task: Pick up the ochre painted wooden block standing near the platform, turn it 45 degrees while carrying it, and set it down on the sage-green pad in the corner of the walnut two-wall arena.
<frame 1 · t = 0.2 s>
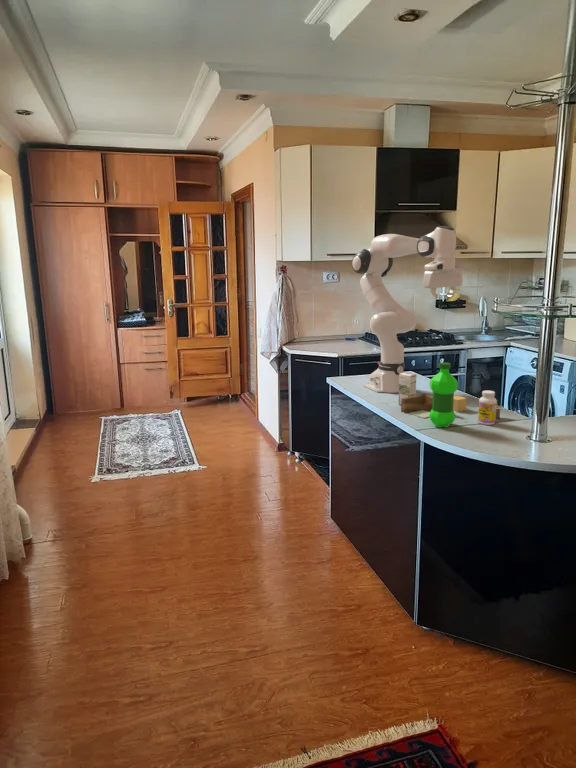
hand: (442, 297, 242), 47 cm above the worktop, tool pointing down, fingers open, 8 cm apart
supplement bottle: (486, 423, 224), on the worktop, touching platform
platform: (489, 419, 230), on the worktop, touching supplement bottle
syrup box: (406, 405, 251), on the worktop
block: (456, 409, 243), on the worktop
plastic bottle: (441, 425, 221), on the worktop
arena: (423, 414, 236), on the worktop
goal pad: (423, 414, 236), on the worktop
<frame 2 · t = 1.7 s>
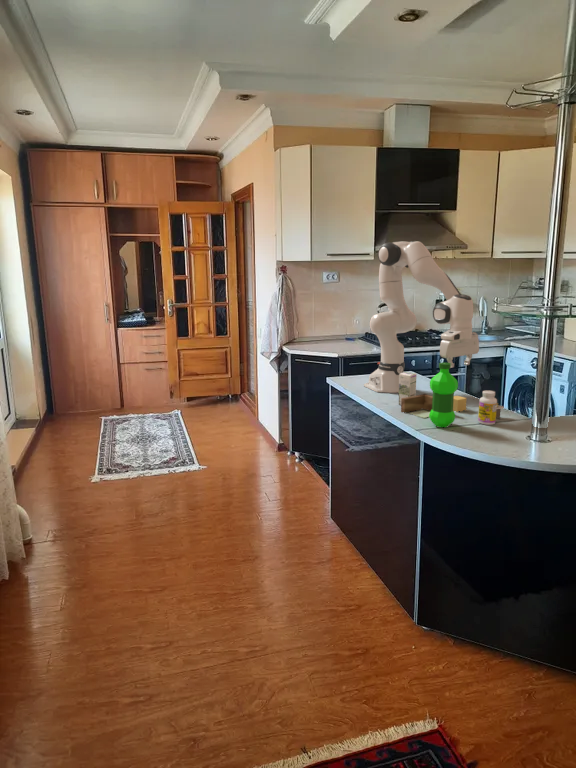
hand: (459, 366, 238), 19 cm above the worktop, tool pointing down, fingers open, 8 cm apart
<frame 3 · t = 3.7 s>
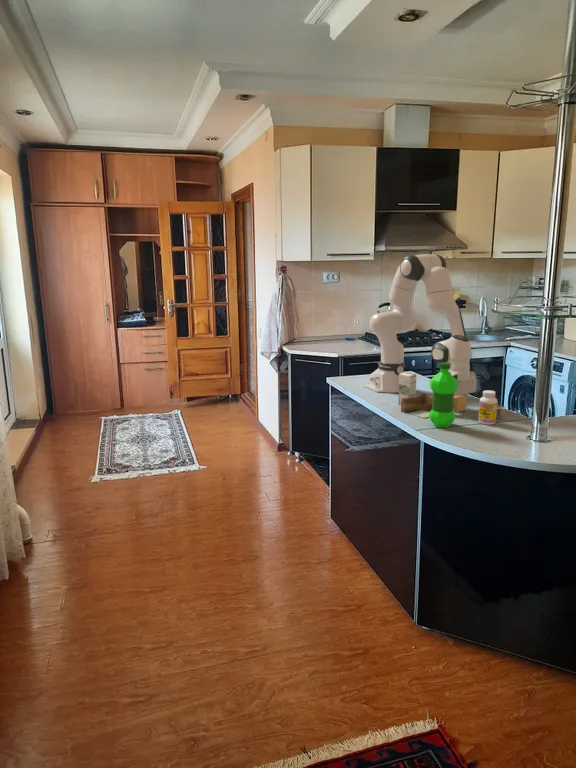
hand: (456, 404, 242), 2 cm above the worktop, tool pointing down, fingers closed on block, 5 cm apart
block: (456, 409, 242), on the worktop, touching gripper
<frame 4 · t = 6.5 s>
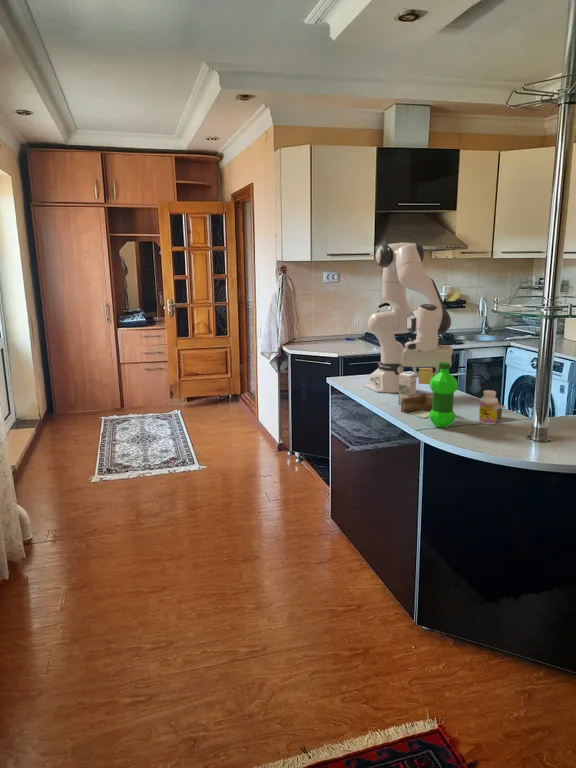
hand: (425, 377, 232), 16 cm above the worktop, tool pointing down, fingers closed on block, 5 cm apart
block: (425, 382, 233), point 14 cm above the worktop, touching gripper
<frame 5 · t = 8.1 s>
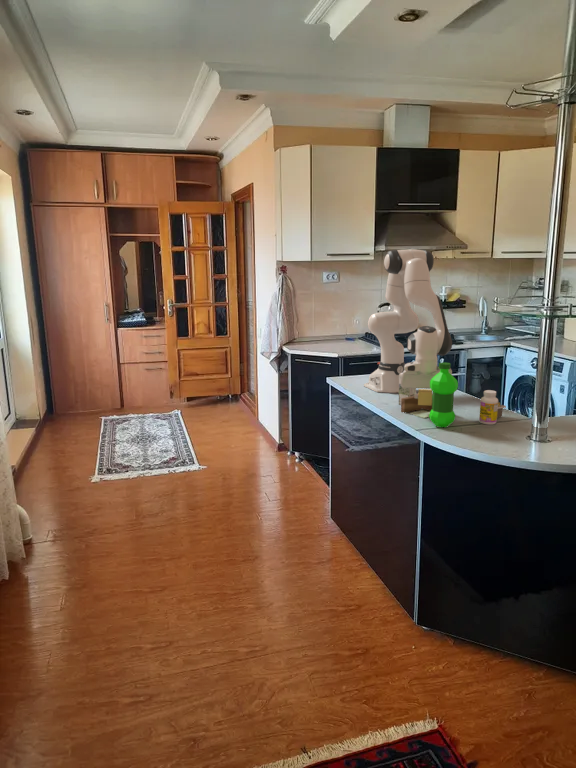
hand: (424, 398, 234), 7 cm above the worktop, tool pointing down, fingers closed on block, 5 cm apart
supplement bottle: (487, 423, 224), on the worktop
platform: (492, 418, 231), on the worktop
block: (424, 403, 235), point 5 cm above the worktop, touching gripper
everything else where it was.
when the fingers open (4 cm above the worktop, at t = 9.2 s): block drops 1 cm, resting on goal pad.
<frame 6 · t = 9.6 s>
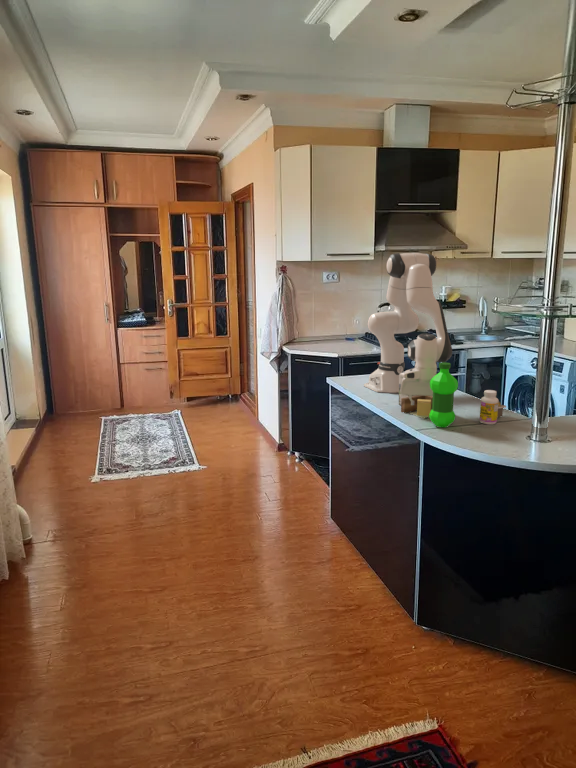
hand: (424, 405, 235), 4 cm above the worktop, tool pointing down, fingers open, 8 cm apart
supplement bottle: (488, 422, 224), on the worktop, touching platform
platform: (493, 418, 232), on the worktop, touching supplement bottle
block: (423, 413, 236), resting on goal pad
everything else where it was.
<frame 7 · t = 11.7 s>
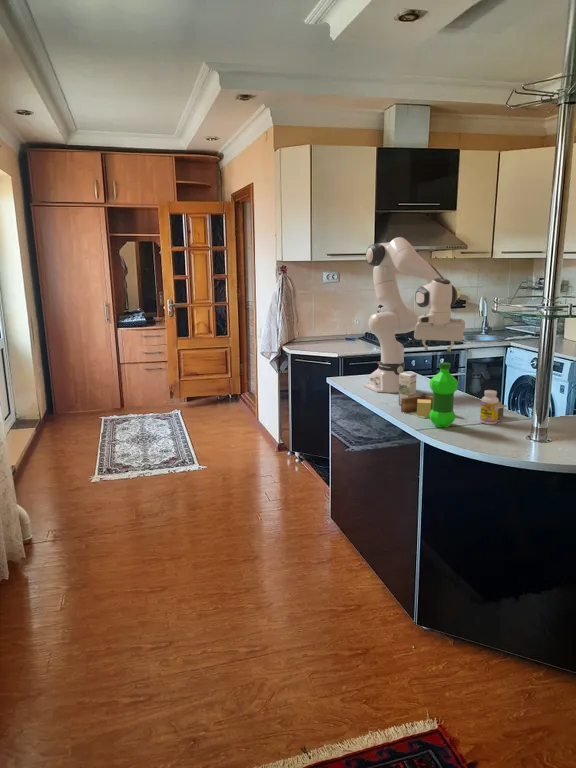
hand: (437, 350, 238), 26 cm above the worktop, tool pointing down, fingers open, 8 cm apart
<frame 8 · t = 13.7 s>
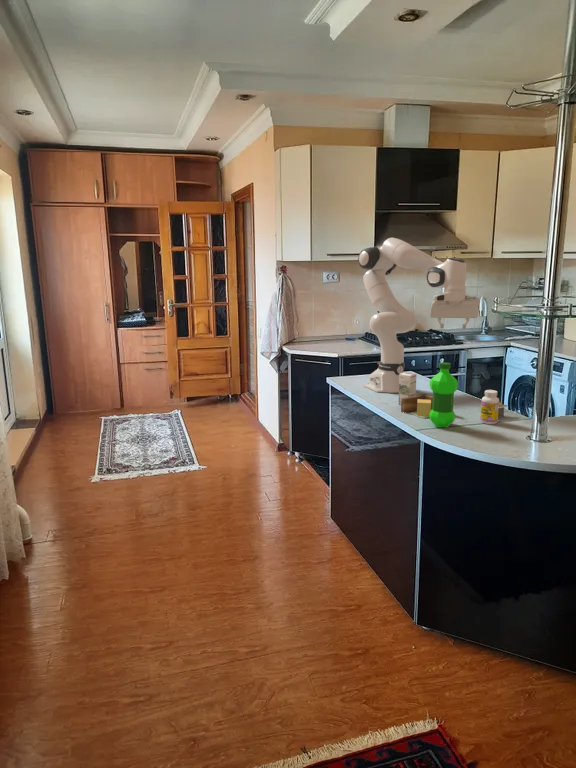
hand: (452, 328, 245), 34 cm above the worktop, tool pointing down, fingers open, 8 cm apart
at the end: block 0.1 cm from the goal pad (horizontally); block tilted 0°; the gripper is holding nothing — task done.
